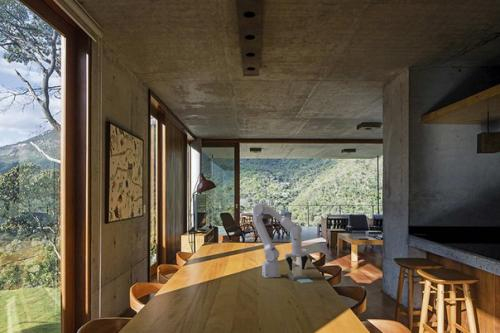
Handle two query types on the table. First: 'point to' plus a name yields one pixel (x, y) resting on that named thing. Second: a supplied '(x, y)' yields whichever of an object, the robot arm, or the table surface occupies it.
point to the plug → (297, 270)
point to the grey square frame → (296, 277)
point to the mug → (299, 259)
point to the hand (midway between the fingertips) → (297, 269)
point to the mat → (305, 281)
